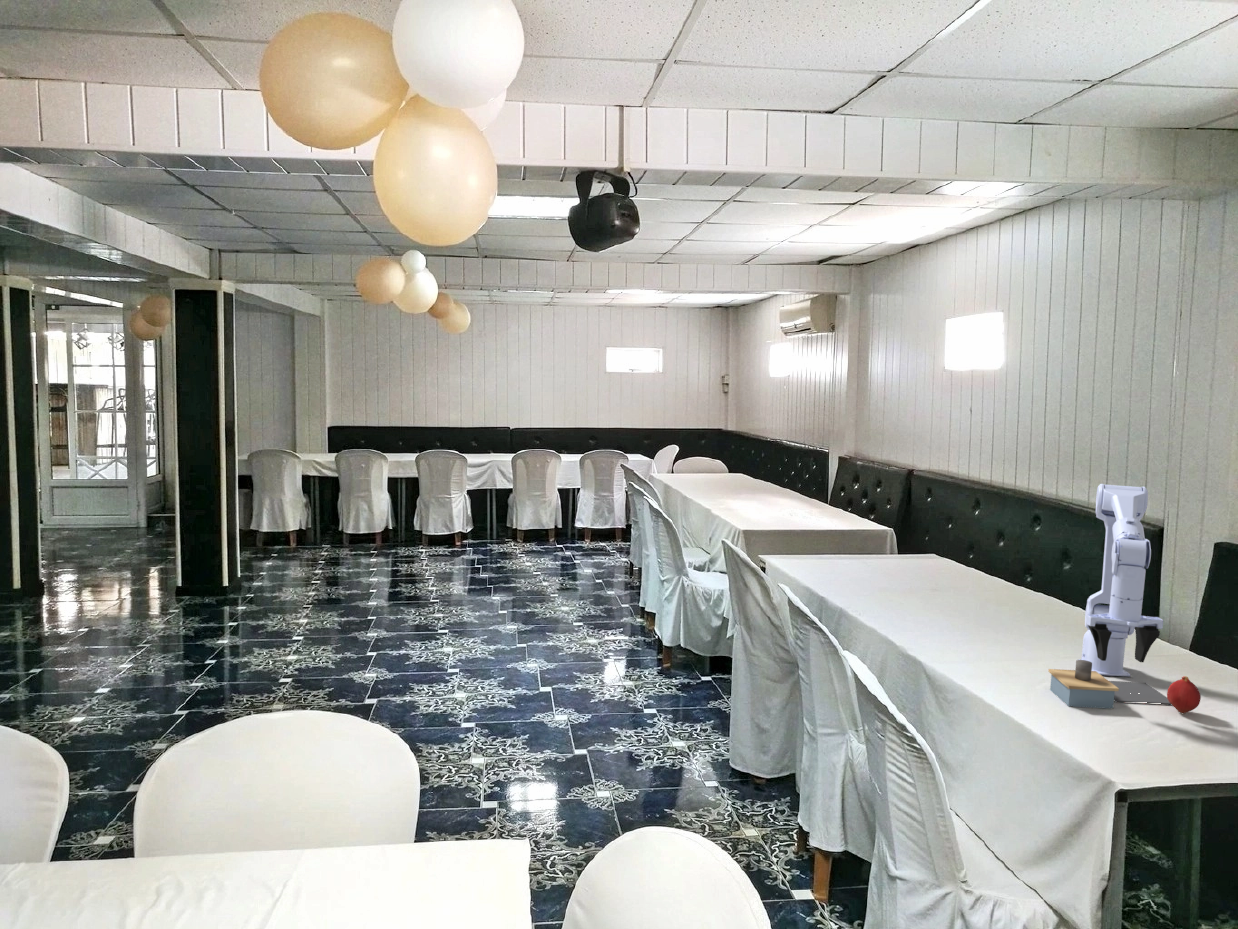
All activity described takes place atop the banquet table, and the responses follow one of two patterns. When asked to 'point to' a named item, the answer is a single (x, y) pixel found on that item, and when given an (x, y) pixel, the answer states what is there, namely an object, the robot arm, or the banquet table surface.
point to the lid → (1083, 678)
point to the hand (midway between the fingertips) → (1120, 660)
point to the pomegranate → (1183, 695)
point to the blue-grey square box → (1082, 696)
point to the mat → (1134, 688)
